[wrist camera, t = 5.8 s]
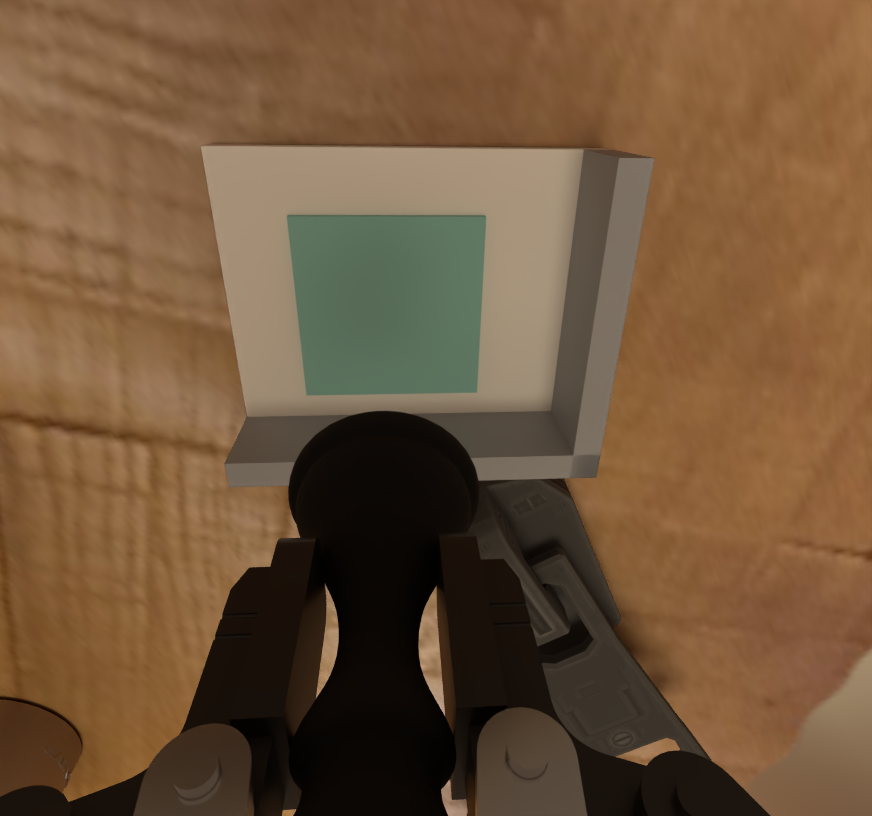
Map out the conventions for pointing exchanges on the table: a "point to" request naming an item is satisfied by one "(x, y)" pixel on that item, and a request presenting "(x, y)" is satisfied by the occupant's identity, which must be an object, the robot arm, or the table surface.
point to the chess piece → (378, 610)
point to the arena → (501, 296)
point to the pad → (388, 302)
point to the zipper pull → (574, 618)
